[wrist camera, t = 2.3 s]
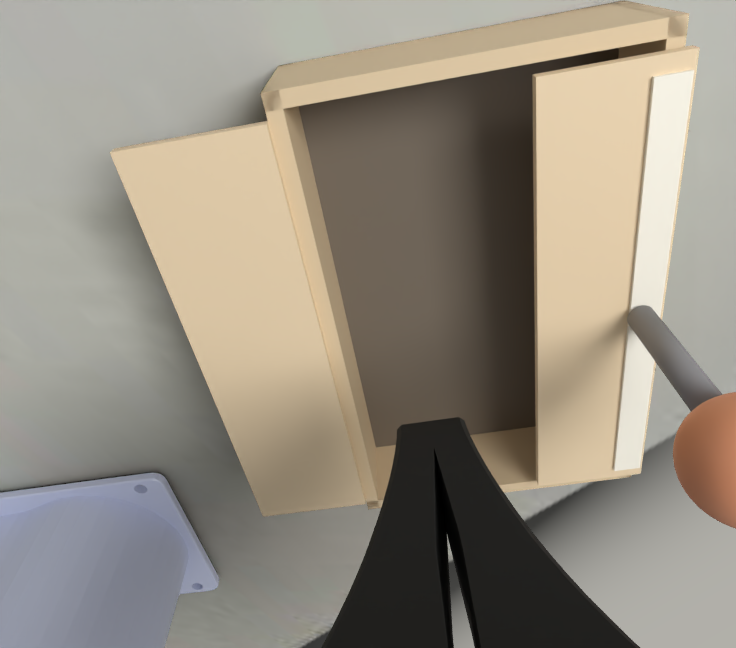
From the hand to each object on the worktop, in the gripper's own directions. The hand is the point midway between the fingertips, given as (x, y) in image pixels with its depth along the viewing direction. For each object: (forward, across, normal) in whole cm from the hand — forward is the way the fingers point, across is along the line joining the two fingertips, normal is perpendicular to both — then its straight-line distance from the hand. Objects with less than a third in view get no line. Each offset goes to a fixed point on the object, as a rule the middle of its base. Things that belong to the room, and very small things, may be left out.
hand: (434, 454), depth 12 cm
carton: (+8, 0, 0) cm, 8 cm away
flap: (+4, -5, 0) cm, 7 cm away
